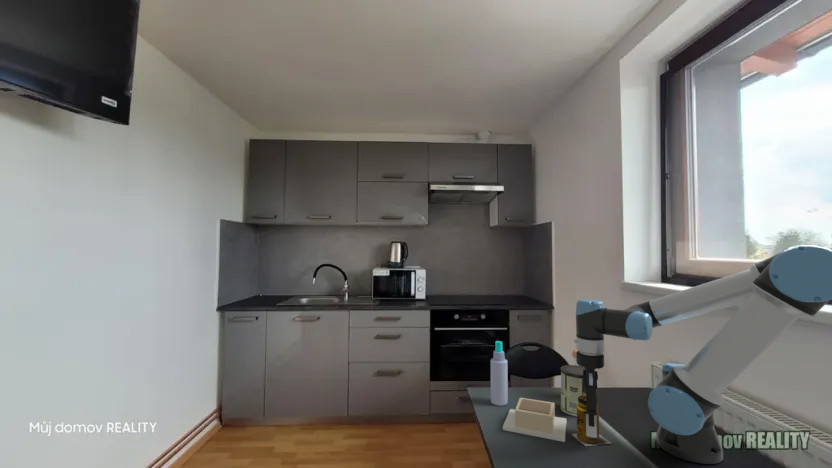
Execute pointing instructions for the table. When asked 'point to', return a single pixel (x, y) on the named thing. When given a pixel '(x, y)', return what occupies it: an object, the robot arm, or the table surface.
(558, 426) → the structure base
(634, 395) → the table surface
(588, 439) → the condiment
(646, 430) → the table surface
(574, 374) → the coffee can
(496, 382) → the spray bottle
